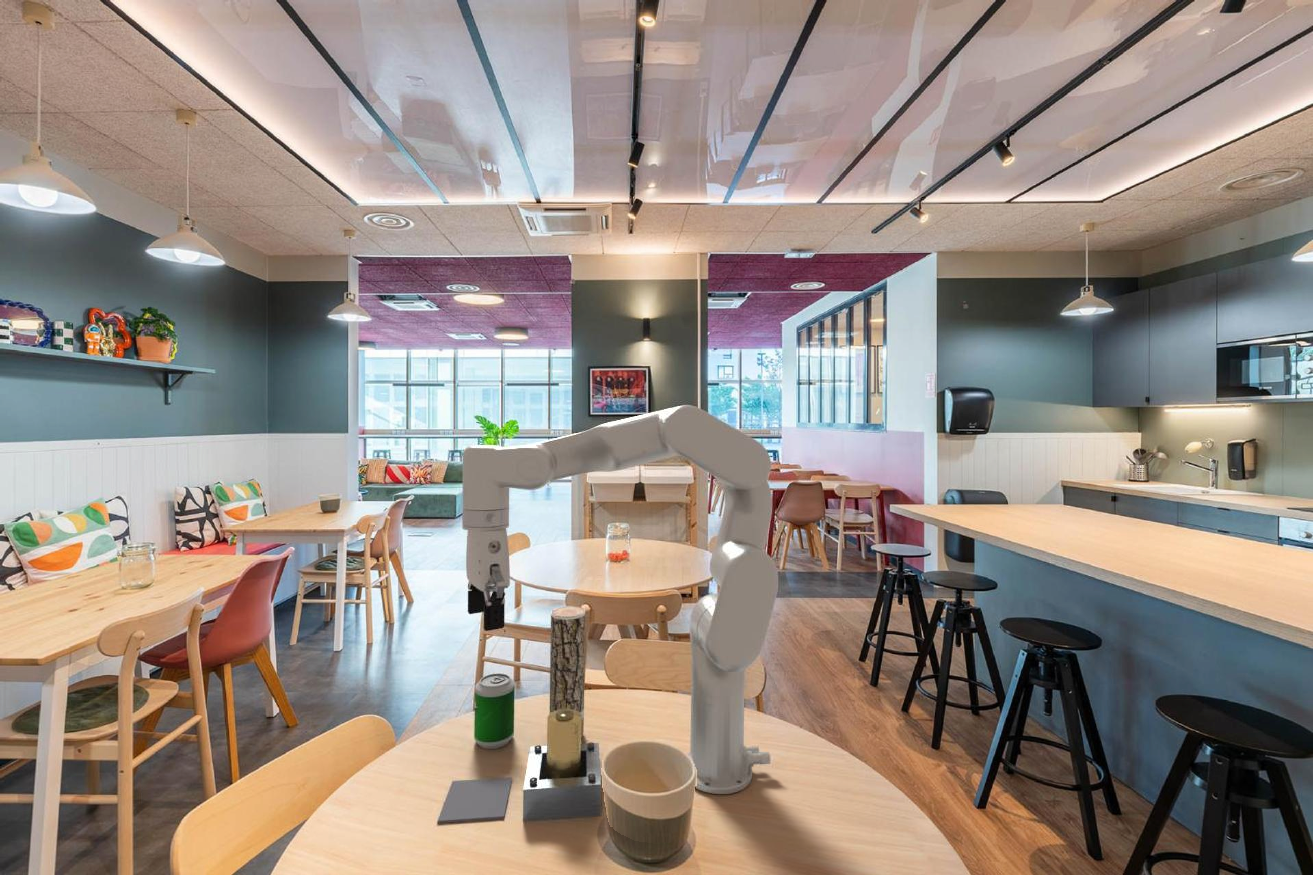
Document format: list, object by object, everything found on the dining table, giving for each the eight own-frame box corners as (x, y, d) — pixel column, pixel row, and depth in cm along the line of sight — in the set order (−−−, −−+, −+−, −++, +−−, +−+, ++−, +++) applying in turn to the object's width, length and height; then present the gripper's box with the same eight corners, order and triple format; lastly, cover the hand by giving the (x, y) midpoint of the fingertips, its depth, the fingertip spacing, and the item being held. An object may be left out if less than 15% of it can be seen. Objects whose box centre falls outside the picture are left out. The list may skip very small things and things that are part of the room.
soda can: (522, 737, 111) (522, 677, 111) (492, 755, 104) (493, 691, 104) (496, 726, 115) (496, 668, 115) (465, 743, 108) (466, 681, 108)
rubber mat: (512, 779, 97) (512, 777, 97) (504, 818, 87) (504, 815, 87) (452, 783, 96) (452, 780, 96) (437, 823, 86) (437, 820, 86)
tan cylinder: (580, 782, 97) (581, 705, 96) (580, 803, 91) (581, 722, 91) (547, 784, 96) (548, 707, 96) (545, 806, 90) (546, 723, 90)
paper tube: (576, 747, 107) (578, 618, 107) (543, 743, 109) (545, 615, 108) (588, 729, 114) (590, 607, 114) (556, 725, 115) (558, 605, 115)
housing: (598, 770, 100) (598, 739, 100) (600, 815, 88) (600, 780, 88) (530, 774, 99) (530, 743, 99) (522, 821, 87) (523, 785, 87)
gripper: (525, 524, 88) (524, 631, 89) (493, 511, 103) (492, 603, 103) (477, 528, 84) (476, 640, 84) (450, 514, 99) (450, 610, 99)
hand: (485, 620), depth 94 cm, fingers open, 9 cm apart
